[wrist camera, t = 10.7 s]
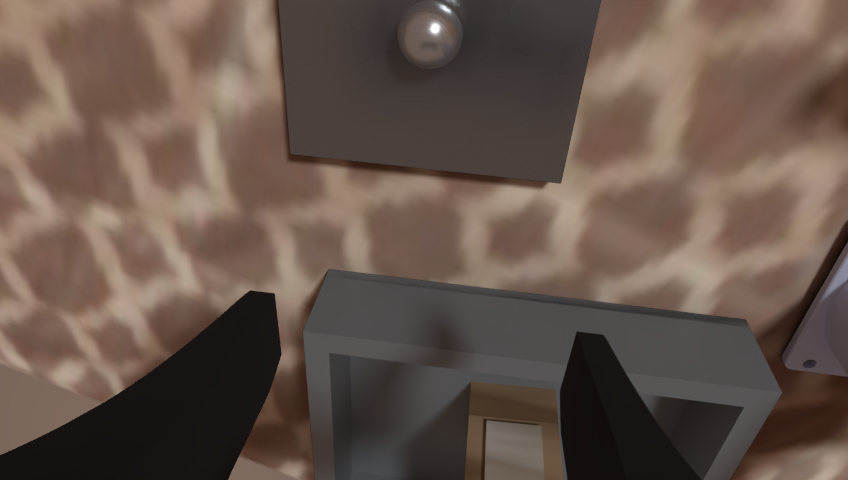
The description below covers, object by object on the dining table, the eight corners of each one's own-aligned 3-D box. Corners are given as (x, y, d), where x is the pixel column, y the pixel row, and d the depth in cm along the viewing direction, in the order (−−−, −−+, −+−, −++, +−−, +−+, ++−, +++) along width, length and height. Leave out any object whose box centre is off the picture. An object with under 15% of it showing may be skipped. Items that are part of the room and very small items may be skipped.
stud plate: (627, -150, 16) (647, -149, 14) (558, 170, 22) (565, 209, 20) (276, -176, 17) (239, -178, 14) (298, 142, 22) (274, 176, 20)
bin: (745, 319, 25) (782, 392, 21) (647, 515, 33) (663, 589, 30) (328, 269, 26) (303, 331, 23) (337, 471, 34) (319, 537, 31)
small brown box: (544, 442, 30) (553, 585, 24) (467, 434, 30) (457, 573, 25) (556, 385, 27) (569, 528, 22) (471, 377, 28) (462, 516, 22)
